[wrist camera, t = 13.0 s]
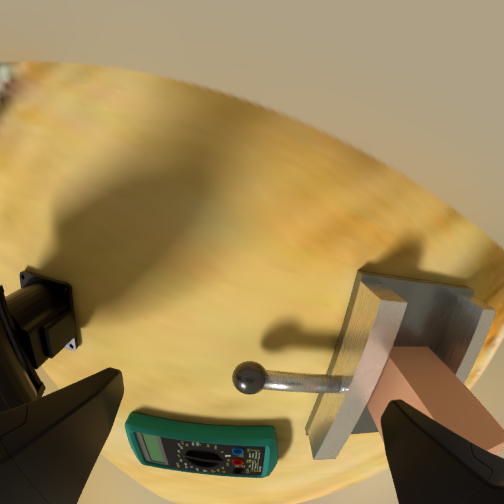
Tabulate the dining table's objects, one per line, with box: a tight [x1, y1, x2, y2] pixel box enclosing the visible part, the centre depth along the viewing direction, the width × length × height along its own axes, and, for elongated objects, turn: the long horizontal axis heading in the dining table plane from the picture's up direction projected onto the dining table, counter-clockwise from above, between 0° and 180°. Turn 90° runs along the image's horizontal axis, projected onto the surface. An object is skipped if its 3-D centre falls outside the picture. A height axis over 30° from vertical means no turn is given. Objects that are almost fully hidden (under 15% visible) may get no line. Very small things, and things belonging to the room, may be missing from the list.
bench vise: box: [232, 270, 496, 460], centre depth 19 cm, size 20×16×4 cm
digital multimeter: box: [125, 413, 278, 478], centre depth 22 cm, size 7×15×3 cm, turn 88°
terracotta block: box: [366, 346, 504, 455], centre depth 14 cm, size 5×5×12 cm
